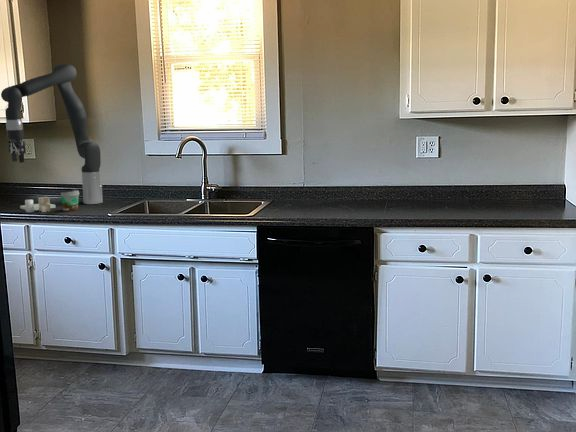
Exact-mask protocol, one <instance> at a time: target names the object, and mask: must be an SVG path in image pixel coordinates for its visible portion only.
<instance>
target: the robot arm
mask: <svg viewBox="0 0 576 432" xmlns="http://www.w3.org/2000/svg"><path fill="white" fill-rule="evenodd" d="M77 75H78V73H77V68H75V67H74V65H72V64H70V63H62V64H61V63H60V64H56V65H55V66H54V67H53V69H52V72H50V73H47V74H44V75H40V76H36V77H33V78H30V79H27V80H25V81H23V82H20V83H19V84H18V83H17V84H14V85H11V86H8V87H6V88H3V89H2V90H1V93H0V97H1V99H2V100H3V101H4V102H6V103H7V107H6V108H5V126H6V135H7V136H6V138H7V139H8V141H7V145H8V148H7V149H8V153H10V156H11V162H17V161H19V163H25V156H24V155H25V154H26V144H25V141H24V140H23V141H22V139H25V134H24V133H25V132H24V125H23V120H22V113H21V110H22V103H23V98H24V97H29V96H31V95H34V94H37V93H39V92H41V91H43V90H44V91H45V90H46V89H49V88H51V87H53V86H56V85H57V88H58V90H59V92H60V96H61V99H62V102H63V104H64V107H65V112H66V113H67V114H66V115H67V118H68V120H69V123H70V127H71V129H72V133H73V135H74V140H75V145H76V151H77V153H78V155H79V156H80V157H81V158H82V159H84V165H83V166H81V181H82V184H81V185H82V197H83V198H82V199H83V201H82V202H83V204H84V205H85V204H86V205H95V204H103V203H104V202H103V198H104V197H103V185H101V177H100V176H101V173H100V169H101V163H102V162H101V161H102V160H101V159H102V158H101V148H100V146H99V144H98V143H97V142H93V141H90V139H89V135H88V132H87V123H88V121H87V120H88V116H87V113H86V112H87V111H86V109H85V106H84V104H83V102H82V100H81V99H80V98H79V96H78V95H77V94H76V92H75V90H74V88H73V85H72V81H74V80H75V79H76V77H77ZM17 154H18V158H17Z"/></svg>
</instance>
